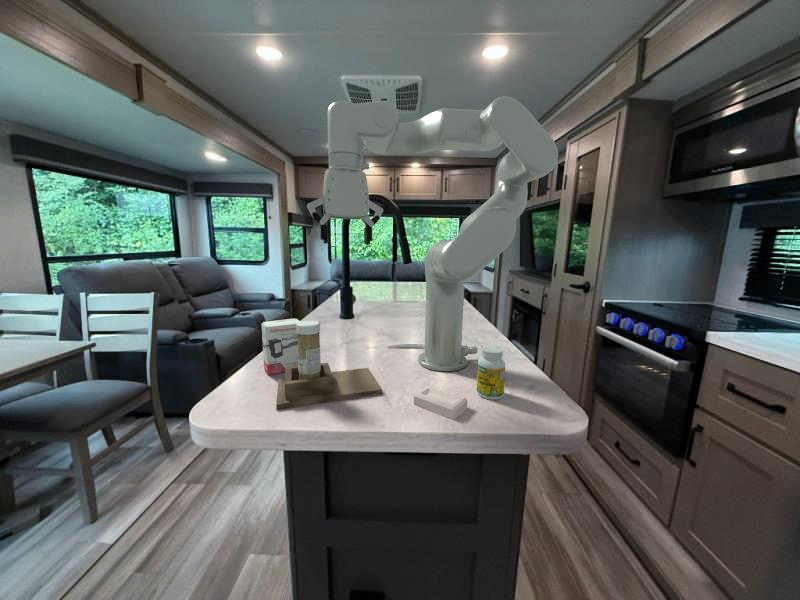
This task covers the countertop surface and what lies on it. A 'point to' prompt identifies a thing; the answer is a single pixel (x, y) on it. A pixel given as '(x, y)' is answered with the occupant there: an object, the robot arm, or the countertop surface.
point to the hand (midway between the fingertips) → (346, 243)
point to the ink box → (279, 345)
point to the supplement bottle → (491, 374)
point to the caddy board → (324, 386)
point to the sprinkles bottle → (308, 349)
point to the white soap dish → (440, 402)
